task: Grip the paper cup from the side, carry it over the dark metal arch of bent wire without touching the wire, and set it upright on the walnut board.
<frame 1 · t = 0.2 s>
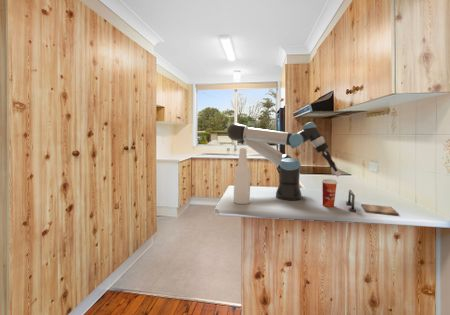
hand: (338, 174, 154), 14 cm above the countertop, tool tilted 35°, fingers open, 13 cm apart
paper cup: (328, 205, 136), on the countertop
alcohol: (241, 202, 139), on the countertop
walnut board: (378, 210, 129), on the countertop
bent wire: (350, 207, 133), on the countertop
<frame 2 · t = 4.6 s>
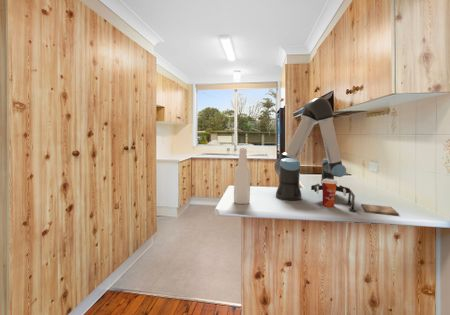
hand: (331, 192, 136), 7 cm above the countertop, tool horizontal, fingers open, 13 cm apart
nothing on the countertop moved.
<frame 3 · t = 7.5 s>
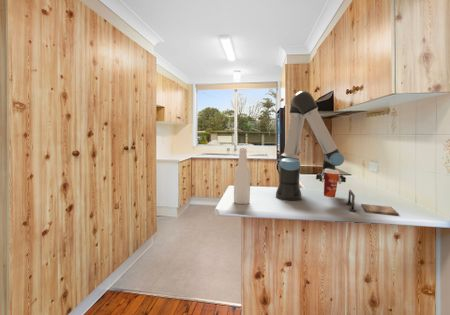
hand: (331, 180, 130), 14 cm above the countertop, tool horizontal, fingers closed on paper cup, 8 cm apart
paper cup: (329, 196, 135), point 5 cm above the countertop, touching gripper
everything else where it was.
when the fingers open (10 cm above the countertop, at t = 13.4 s): paper cup stays where it is, resting on walnut board.
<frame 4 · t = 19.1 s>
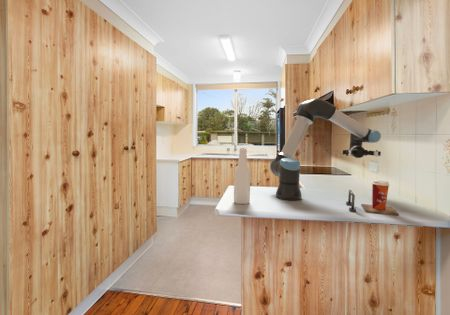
hand: (363, 153, 144), 28 cm above the countertop, tool horizontal, fingers open, 13 cm apart
paper cup: (378, 208, 129), point 1 cm above the countertop, touching walnut board
everything else where it was.
at the end: paper cup inside the target area on the walnut board (0.5 cm from its centre), point 0.8 cm above the walnut board's base; paper cup tilted 0°; paper cup touching walnut board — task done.
